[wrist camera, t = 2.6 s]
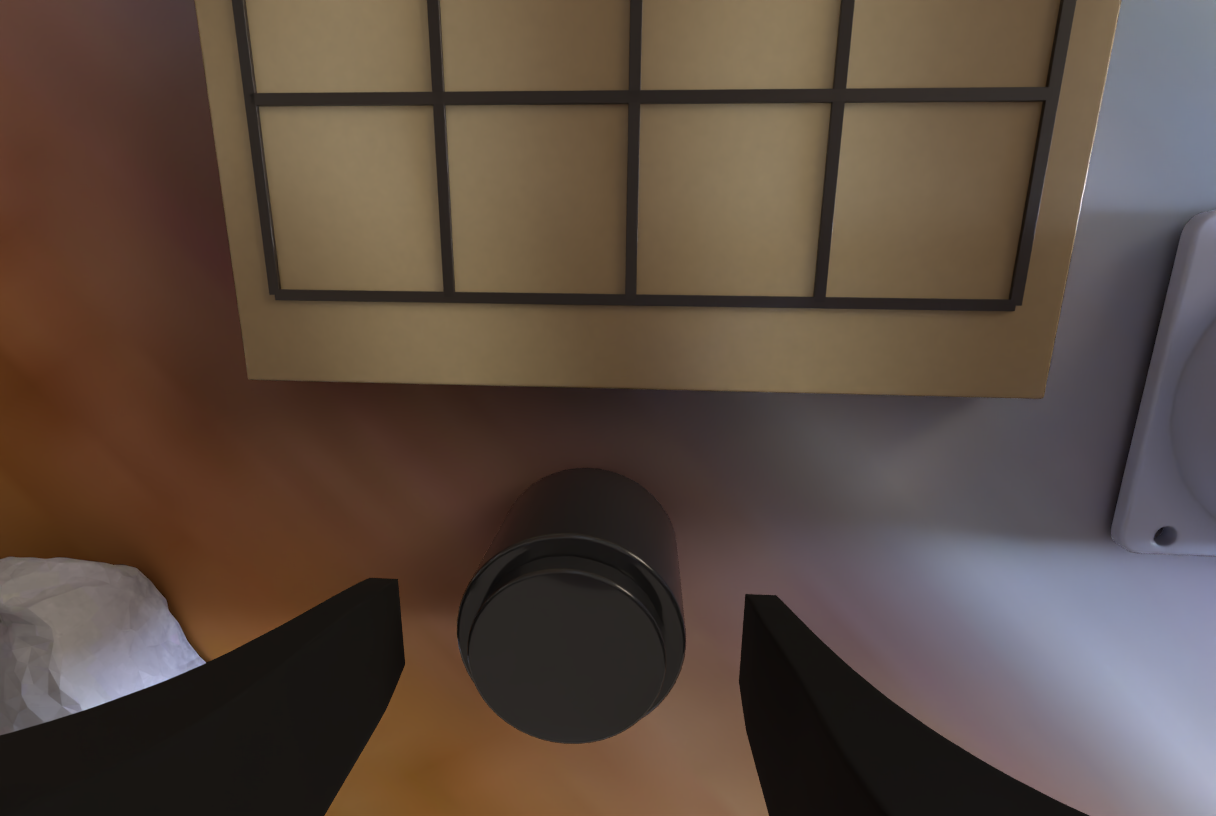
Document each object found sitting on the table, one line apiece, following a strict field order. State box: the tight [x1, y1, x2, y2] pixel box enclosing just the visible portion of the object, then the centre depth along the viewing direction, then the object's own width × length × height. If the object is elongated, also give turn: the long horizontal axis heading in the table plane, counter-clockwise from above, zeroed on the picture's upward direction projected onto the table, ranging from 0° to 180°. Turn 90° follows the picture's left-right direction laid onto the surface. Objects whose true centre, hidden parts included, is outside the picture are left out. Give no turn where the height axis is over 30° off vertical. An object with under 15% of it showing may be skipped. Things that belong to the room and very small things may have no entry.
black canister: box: [457, 468, 686, 744], centre depth 13 cm, size 5×5×5 cm
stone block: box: [0, 557, 206, 735], centre depth 17 cm, size 12×5×10 cm
